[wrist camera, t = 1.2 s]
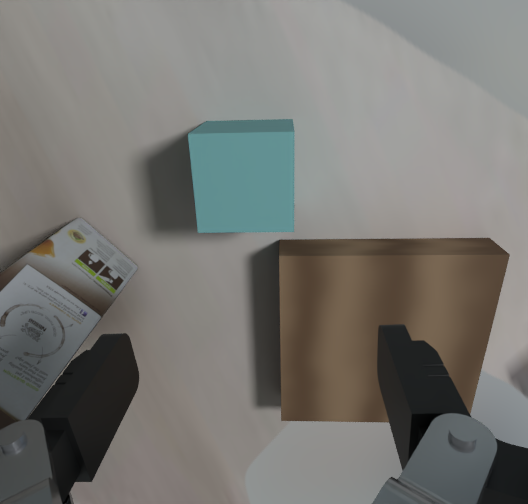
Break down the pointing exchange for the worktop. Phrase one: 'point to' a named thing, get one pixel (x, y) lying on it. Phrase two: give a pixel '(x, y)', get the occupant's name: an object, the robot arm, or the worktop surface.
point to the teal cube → (243, 175)
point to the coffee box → (53, 311)
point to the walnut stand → (379, 316)
